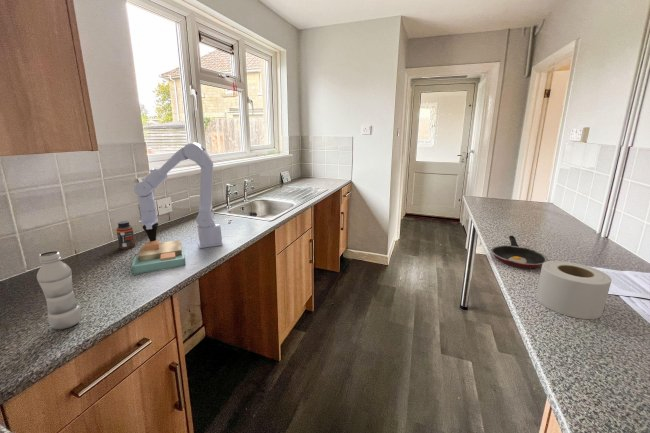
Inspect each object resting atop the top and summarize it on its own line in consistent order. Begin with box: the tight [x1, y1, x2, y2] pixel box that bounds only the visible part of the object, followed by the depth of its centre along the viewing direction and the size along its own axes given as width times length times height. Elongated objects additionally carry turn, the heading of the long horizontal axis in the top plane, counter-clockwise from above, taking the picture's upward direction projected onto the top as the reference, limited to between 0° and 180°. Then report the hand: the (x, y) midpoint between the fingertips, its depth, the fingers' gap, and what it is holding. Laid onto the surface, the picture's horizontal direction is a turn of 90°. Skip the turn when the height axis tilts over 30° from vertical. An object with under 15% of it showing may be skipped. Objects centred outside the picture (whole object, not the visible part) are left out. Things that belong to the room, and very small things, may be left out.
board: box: [137, 239, 182, 262], centre depth 125 cm, size 15×13×2 cm
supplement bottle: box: [116, 220, 136, 250], centre depth 130 cm, size 6×6×11 cm
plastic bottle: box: [36, 250, 82, 330], centre depth 76 cm, size 6×7×20 cm
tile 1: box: [144, 239, 161, 251], centre depth 124 cm, size 5×5×2 cm
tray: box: [131, 248, 186, 275], centre depth 114 cm, size 17×10×3 cm, turn 116°
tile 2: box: [160, 252, 176, 261], centre depth 117 cm, size 5×5×2 cm
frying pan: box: [490, 235, 549, 270], centre depth 124 cm, size 19×32×4 cm, turn 155°
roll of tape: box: [535, 260, 612, 320], centre depth 87 cm, size 16×15×11 cm
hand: (153, 240), depth 129 cm, fingers closed
